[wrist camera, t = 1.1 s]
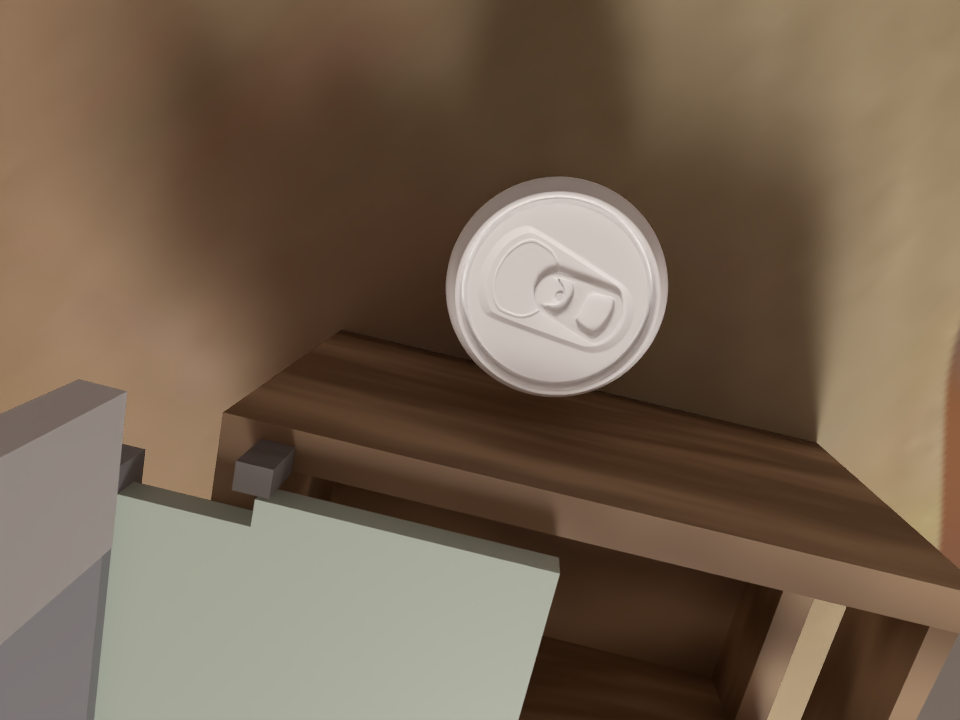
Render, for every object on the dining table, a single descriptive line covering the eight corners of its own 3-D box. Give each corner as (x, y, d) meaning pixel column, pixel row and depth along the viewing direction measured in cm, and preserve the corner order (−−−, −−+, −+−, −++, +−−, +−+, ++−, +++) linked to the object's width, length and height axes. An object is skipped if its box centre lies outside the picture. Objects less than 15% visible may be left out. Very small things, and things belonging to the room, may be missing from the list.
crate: (341, 330, 37) (194, 432, 21) (817, 442, 37) (1035, 636, 21) (295, 587, 41) (142, 837, 25) (724, 693, 40) (848, 1019, 24)
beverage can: (514, 153, 34) (503, 132, 23) (658, 225, 35) (721, 241, 23) (445, 298, 36) (403, 347, 25) (583, 365, 37) (605, 445, 25)
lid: (33, 422, 24) (-12, 442, 22) (558, 550, 23) (560, 582, 21) (14, 709, 27) (-27, 749, 25) (480, 827, 26) (476, 878, 24)
